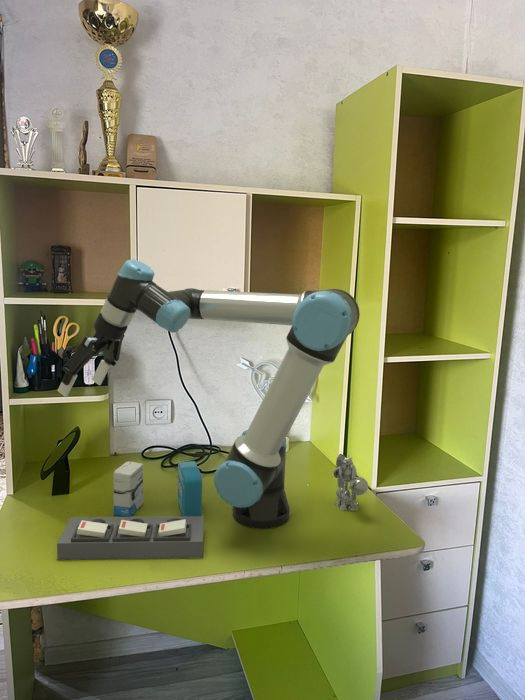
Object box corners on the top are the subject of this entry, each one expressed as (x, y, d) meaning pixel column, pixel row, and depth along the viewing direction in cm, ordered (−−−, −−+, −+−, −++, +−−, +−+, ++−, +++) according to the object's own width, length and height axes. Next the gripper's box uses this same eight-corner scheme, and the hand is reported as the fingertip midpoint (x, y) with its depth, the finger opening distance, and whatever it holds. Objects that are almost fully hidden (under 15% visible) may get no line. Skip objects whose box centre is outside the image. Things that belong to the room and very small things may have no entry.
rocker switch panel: (203, 531, 137) (203, 513, 136) (202, 557, 125) (203, 538, 124) (71, 532, 134) (70, 514, 133) (57, 560, 122) (56, 540, 121)
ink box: (130, 517, 142) (130, 474, 140) (112, 515, 143) (112, 472, 141) (144, 503, 150) (143, 462, 148) (127, 501, 151) (126, 460, 149)
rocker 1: (107, 528, 128) (108, 523, 127) (103, 537, 124) (104, 532, 123) (80, 524, 127) (81, 519, 127) (76, 533, 123) (77, 528, 123)
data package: (177, 501, 152) (177, 460, 150) (193, 499, 154) (194, 459, 151) (184, 522, 141) (184, 478, 139) (201, 520, 142) (202, 476, 140)
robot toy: (371, 520, 146) (375, 466, 143) (350, 522, 144) (354, 468, 141) (346, 495, 159) (350, 446, 157) (327, 498, 158) (330, 448, 155)
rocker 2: (186, 523, 129) (185, 518, 129) (185, 532, 125) (184, 527, 125) (161, 528, 129) (160, 523, 128) (159, 537, 125) (158, 531, 125)
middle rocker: (146, 528, 128) (147, 523, 128) (144, 537, 125) (145, 532, 124) (120, 524, 128) (121, 519, 127) (117, 533, 124) (118, 528, 124)
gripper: (130, 306, 147) (98, 370, 154) (69, 315, 124) (34, 389, 131) (152, 322, 146) (118, 385, 152) (94, 333, 123) (57, 408, 129)
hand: (79, 387), depth 142 cm, fingers open, 13 cm apart
